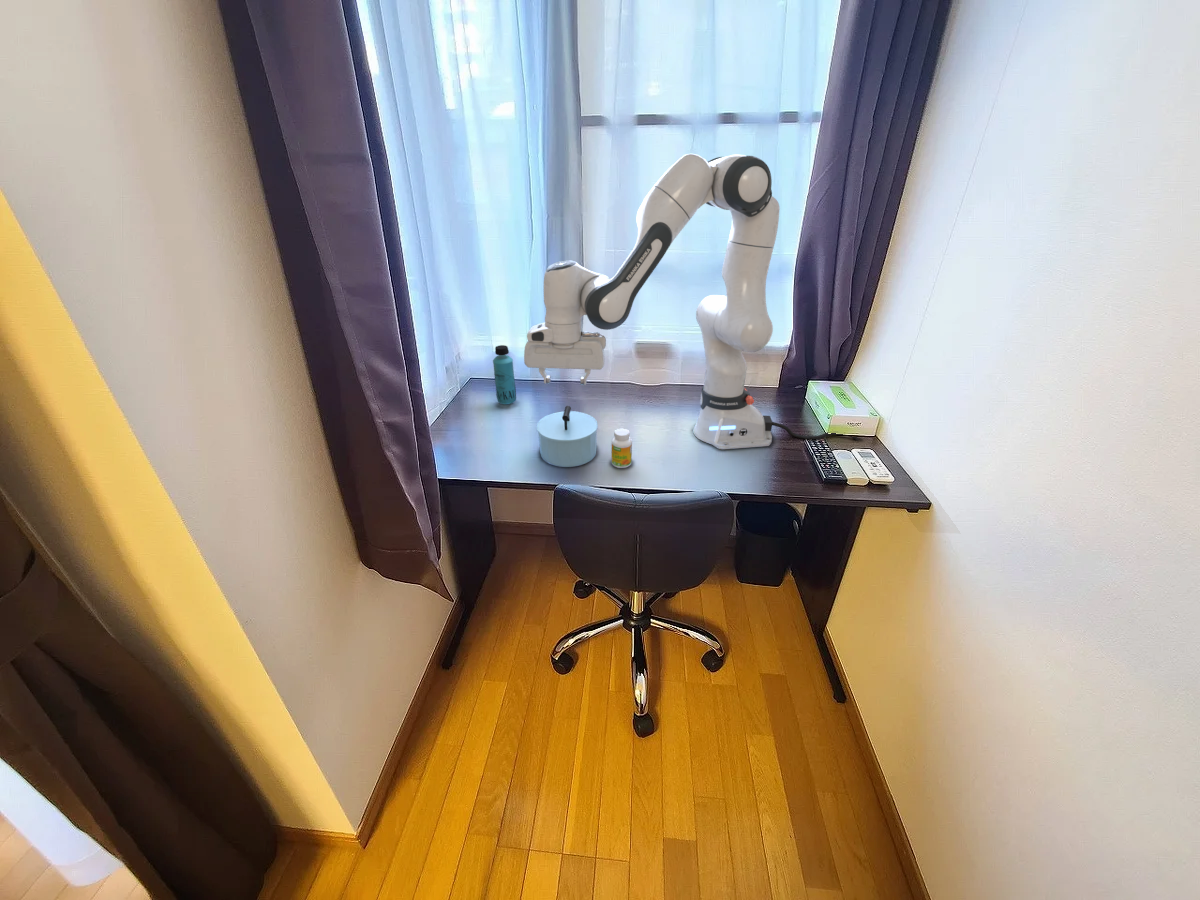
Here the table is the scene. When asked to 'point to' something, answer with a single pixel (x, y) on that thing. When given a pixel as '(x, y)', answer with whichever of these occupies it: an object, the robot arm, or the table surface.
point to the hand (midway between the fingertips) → (565, 383)
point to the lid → (567, 426)
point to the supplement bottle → (621, 448)
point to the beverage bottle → (504, 376)
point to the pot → (568, 451)
